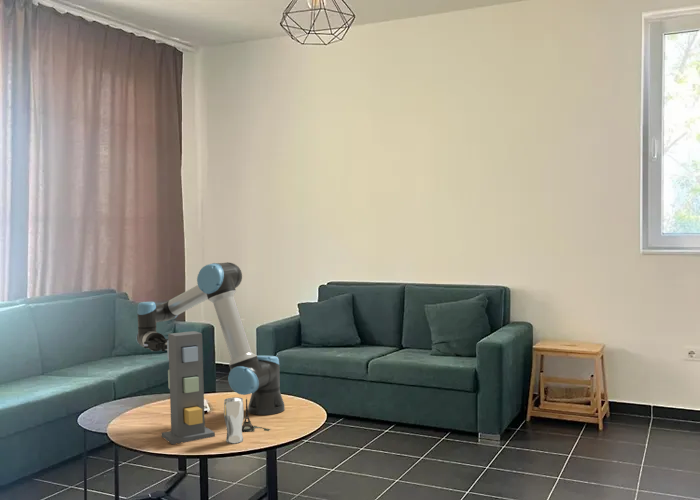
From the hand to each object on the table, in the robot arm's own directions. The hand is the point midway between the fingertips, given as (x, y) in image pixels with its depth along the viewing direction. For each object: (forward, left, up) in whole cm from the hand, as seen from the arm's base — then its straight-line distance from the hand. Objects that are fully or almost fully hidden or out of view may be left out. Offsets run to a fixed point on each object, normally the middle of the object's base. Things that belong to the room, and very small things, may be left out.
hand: (172, 347), depth 263 cm
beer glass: (-26, +21, -31) cm, 46 cm away
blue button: (-7, +11, -3) cm, 14 cm away
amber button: (-8, +14, -25) cm, 30 cm away
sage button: (-7, +11, -14) cm, 19 cm away
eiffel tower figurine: (-29, +7, -32) cm, 44 cm away
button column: (-8, +13, -31) cm, 34 cm away
